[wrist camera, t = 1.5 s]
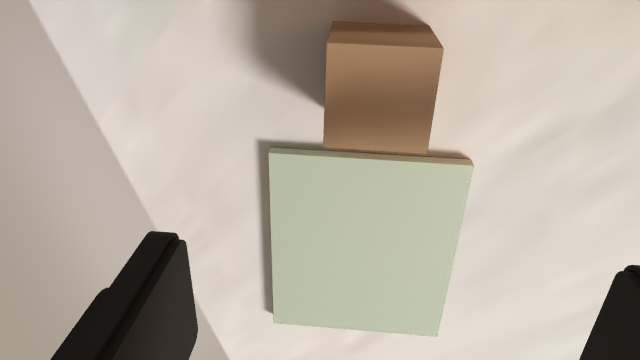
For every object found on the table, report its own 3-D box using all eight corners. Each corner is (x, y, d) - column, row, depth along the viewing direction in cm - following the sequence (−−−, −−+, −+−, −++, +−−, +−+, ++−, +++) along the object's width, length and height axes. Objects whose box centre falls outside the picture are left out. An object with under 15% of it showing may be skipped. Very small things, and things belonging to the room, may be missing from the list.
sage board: (270, 147, 28) (268, 153, 27) (471, 159, 27) (473, 165, 27) (275, 315, 35) (273, 322, 34) (435, 328, 34) (437, 336, 33)
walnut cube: (333, 21, 24) (326, 42, 20) (429, 25, 24) (443, 48, 20) (329, 110, 27) (323, 147, 22) (416, 115, 26) (427, 153, 22)
